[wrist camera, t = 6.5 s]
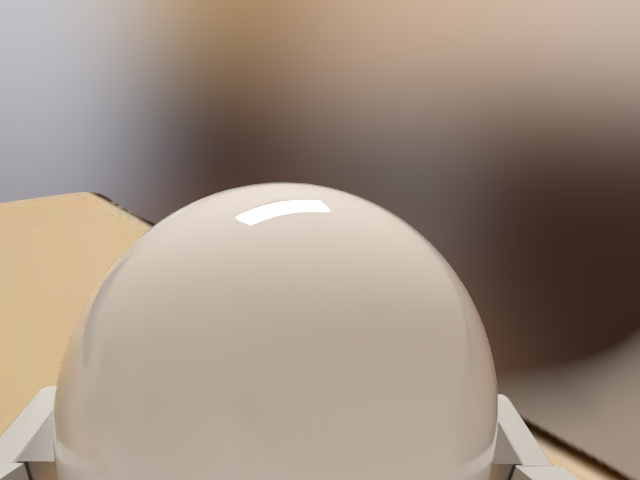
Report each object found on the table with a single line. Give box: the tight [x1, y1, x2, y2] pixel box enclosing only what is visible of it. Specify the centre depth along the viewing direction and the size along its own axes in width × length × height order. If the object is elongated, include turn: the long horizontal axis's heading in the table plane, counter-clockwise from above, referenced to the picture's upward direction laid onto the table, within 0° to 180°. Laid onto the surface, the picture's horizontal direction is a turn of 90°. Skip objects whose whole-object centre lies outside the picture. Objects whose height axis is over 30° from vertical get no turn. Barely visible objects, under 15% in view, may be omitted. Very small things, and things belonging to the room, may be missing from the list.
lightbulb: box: [52, 183, 498, 480], centre depth 7 cm, size 6×6×11 cm
